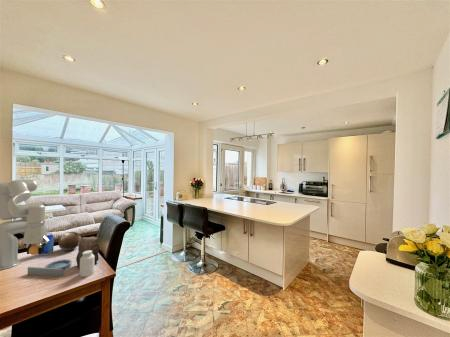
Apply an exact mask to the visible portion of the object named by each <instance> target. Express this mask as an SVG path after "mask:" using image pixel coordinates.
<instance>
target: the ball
mask: <svg viewBox="0 0 450 337" xmlns="http://www.w3.org/2000/svg"><path fill="white" fill-rule="evenodd" d="M39 248H40V247H39V244H32V246H31V247H30V249H29V253H30V254H29V255H32V256H36V255H39V254H38V249H39Z"/></svg>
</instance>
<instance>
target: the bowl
mask: <svg viewBox="0 0 450 337" xmlns="http://www.w3.org/2000/svg"><path fill="white" fill-rule="evenodd" d="M72 264H73V263H72V260H71V259H59V260H55V261H52V262H50V263H48V264H46V265H45V266H44V267H43V268H57V269H63V271H66V270H68V269H69V268H71V266H72Z"/></svg>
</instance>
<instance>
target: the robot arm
mask: <svg viewBox="0 0 450 337" xmlns="http://www.w3.org/2000/svg"><path fill="white" fill-rule="evenodd" d="M37 188H38V183H37V181H36V180H35V179H15V180H11V181H8V182H7V181H6V182H0V220H2V221H5V222H2V223H0V271H2V270H7V269H10V268H15V267H16V266H18V265H19V264H21V263H22V262H21V260H20V259H18V257H19V254H18V253H19V252H18V251H19V250H18V249H19V238H17V237H16V236H15V235H16V234H20V233H24V235H23V239H22V241H21V244H23V245H24V246H25V249H26V255H31V254H30V253H29V249H30V247H31V246H33V245H37V244H38V245H39V247H40V248H39V249H38V254H37V255H40V254H41V253H43V252H44V246H45V245H46V244H47V243H48V242H49V241H50V240H49V239H48V238H47V233H48V232H47V227H46V225H45V218H46V217H45V216H46V206H45V205H43V204H41V203H39V202H34V203H33V202H32V203H26V204H25V203H24V204H21V203H23V202H25V201H28V200H30V199H31V197H32V192H36V191H37ZM14 219H17V220H14ZM8 220H9V221H8ZM44 241H45V242H44ZM41 243H42V244H41Z"/></svg>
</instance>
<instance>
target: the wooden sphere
mask: <svg viewBox="0 0 450 337" xmlns="http://www.w3.org/2000/svg"><path fill="white" fill-rule="evenodd" d="M81 237H82V236H81V235H80V234H79V233H78V232H75V231H70V232H66V233H65V234H63V235H61V237H59V240H58V247H59V248H60V249H61V250H63V251H72V250H74V249H76V248H78V245H79V243H80V241H81V239H80V238H81Z"/></svg>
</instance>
